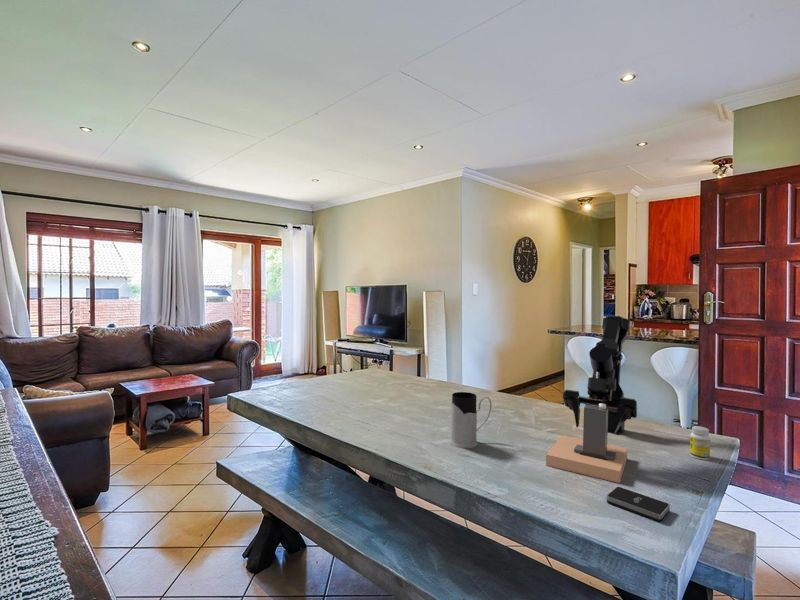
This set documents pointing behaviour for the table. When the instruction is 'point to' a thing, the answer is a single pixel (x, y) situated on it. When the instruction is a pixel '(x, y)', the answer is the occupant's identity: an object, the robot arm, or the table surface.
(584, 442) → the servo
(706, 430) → the supplement bottle
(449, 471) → the table surface
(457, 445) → the grey mug
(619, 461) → the plate
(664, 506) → the external hard drive
